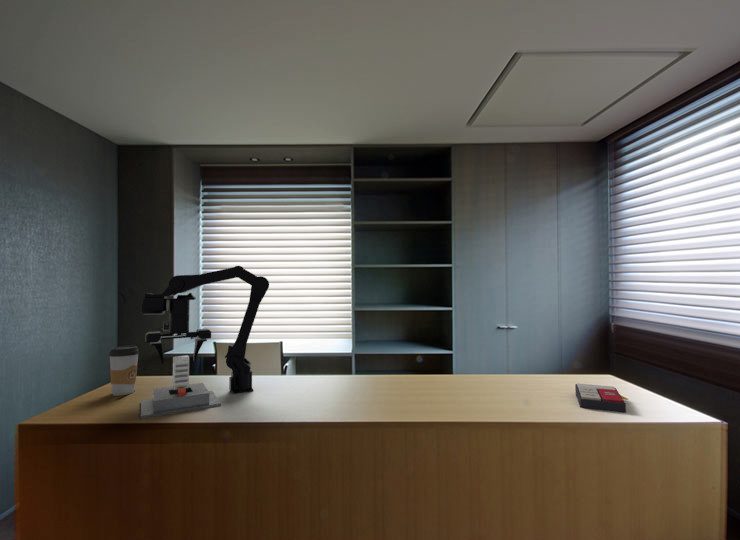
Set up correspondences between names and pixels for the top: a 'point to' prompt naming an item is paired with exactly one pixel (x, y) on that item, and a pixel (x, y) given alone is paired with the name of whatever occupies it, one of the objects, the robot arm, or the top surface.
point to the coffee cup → (123, 369)
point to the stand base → (178, 400)
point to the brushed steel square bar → (180, 372)
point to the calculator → (599, 398)
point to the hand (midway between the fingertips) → (178, 362)
